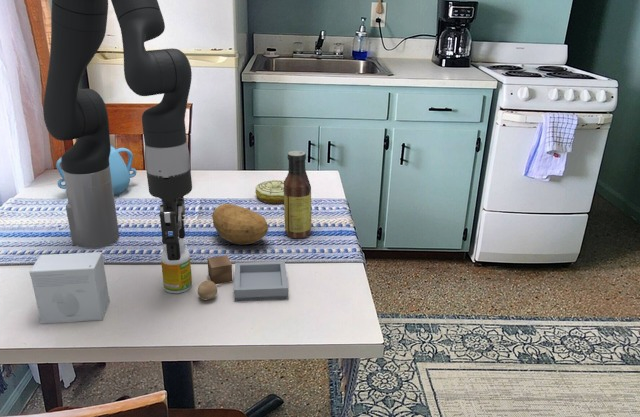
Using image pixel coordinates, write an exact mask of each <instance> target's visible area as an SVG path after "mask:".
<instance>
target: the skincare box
mask: <svg viewBox="0 0 640 417" xmlns="http://www.w3.org/2000/svg"><path fill="white" fill-rule="evenodd" d="M106 275H107V274H106V270H105V263H104V256H103V252H101V251H96V252H76V253H61V254H60V253H57V254H56V253H55V254H41V255H39V257H38V258H37V260H35V263H34V264H33V265H32V267H31V268H30V270H29V276H30V279H31V284H32V288H33V292H34V297H35V301H36V306H37V311H38V315H39V322H40V325H41V324H42V325H44V324H45V325H46V324H58V323H72V322H75V323H76V322H87V321H88V322H89V321H103V319H104V317H105V315H106V312H107V310H108V306H109V303H110V301H111V300H110V296H109V294H110V293H109V288H108V281H107V276H106Z"/></svg>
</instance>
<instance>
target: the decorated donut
mask: <svg viewBox="0 0 640 417" xmlns="http://www.w3.org/2000/svg"><path fill="white" fill-rule="evenodd" d="M284 181H285V180H275V179H274V180H267V181H262V182H260V183H258V184H257V185H256V186H255V192H254V193H255V195H256V197H257V198H258V199H259V200H260V201H262V202H264V203H268V204H284Z"/></svg>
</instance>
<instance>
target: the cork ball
mask: <svg viewBox="0 0 640 417" xmlns="http://www.w3.org/2000/svg"><path fill="white" fill-rule="evenodd" d="M217 293H218V287H217V284H215V283H214V282H212V281H211V280H210V279H209V280H203V281H201V282H200V283H199V284H198V286H197V295H198V296H199V297H200V298H201V299H202V300H204V301H208V300H213V299H214V298H215V297H216V295H217Z"/></svg>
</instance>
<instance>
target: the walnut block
mask: <svg viewBox="0 0 640 417" xmlns="http://www.w3.org/2000/svg"><path fill="white" fill-rule="evenodd" d="M207 273H208V274H207V275H208V277H209V281H212V282H214V283H215V284H216V285H220V284H227V283H231V282H233V264H232V262H231V260H230V258H229V255H228V254H225V255H224V254H223V255H219V256H213V257H207Z"/></svg>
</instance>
